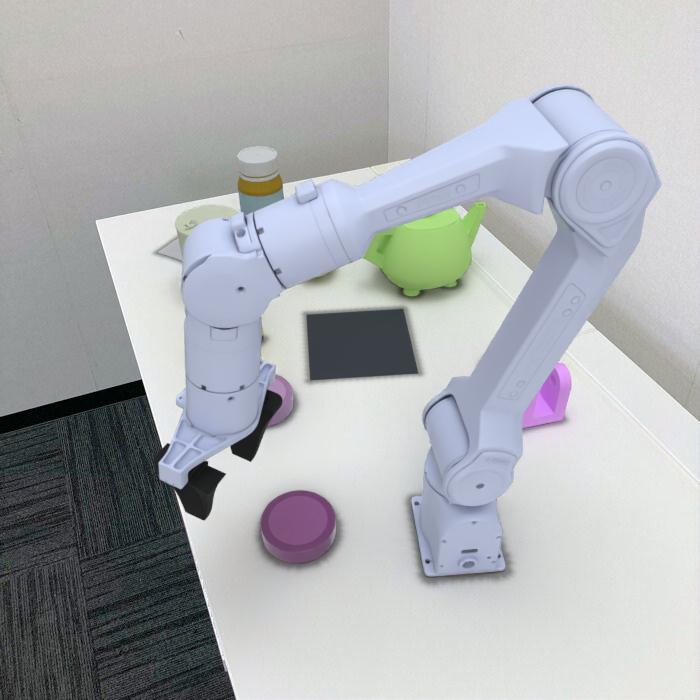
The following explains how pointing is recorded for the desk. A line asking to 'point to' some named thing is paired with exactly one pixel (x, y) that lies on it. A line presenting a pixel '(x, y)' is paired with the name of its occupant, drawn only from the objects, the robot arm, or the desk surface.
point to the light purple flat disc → (286, 393)
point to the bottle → (258, 178)
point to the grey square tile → (172, 250)
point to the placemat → (359, 344)
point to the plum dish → (298, 526)
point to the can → (199, 219)
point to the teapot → (427, 250)
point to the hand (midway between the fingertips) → (221, 483)
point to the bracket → (550, 399)
